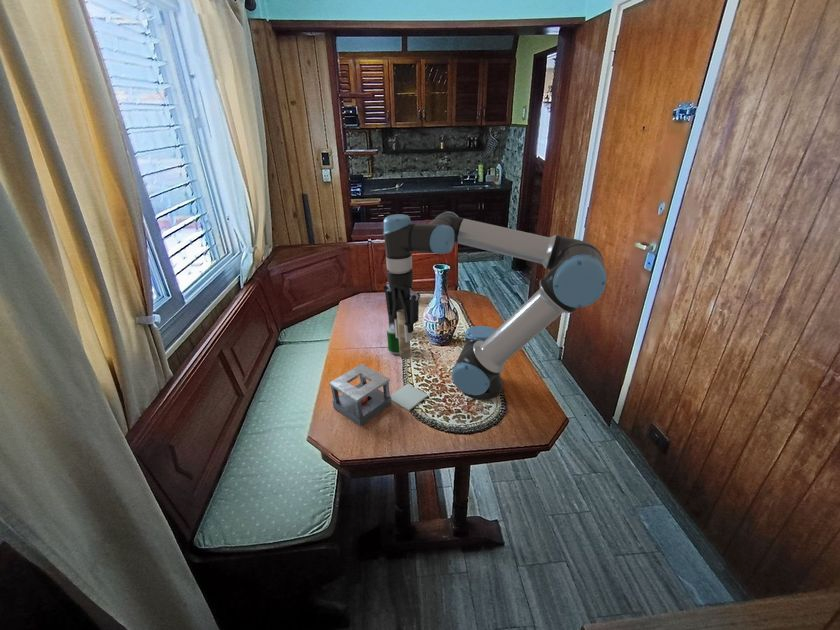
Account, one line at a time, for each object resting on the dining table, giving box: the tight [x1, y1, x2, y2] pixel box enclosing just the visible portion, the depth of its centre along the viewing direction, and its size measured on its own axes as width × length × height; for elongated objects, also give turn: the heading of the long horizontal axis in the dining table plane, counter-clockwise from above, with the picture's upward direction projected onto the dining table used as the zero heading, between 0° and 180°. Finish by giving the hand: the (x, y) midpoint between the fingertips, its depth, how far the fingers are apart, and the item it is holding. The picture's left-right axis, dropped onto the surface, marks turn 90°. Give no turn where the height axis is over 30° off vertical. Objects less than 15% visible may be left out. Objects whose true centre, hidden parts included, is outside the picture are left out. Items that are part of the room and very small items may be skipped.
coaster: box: [390, 383, 429, 412], centre depth 134 cm, size 10×10×1 cm
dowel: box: [397, 309, 412, 359], centre depth 123 cm, size 4×4×16 cm
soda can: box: [386, 323, 400, 356], centre depth 159 cm, size 8×8×12 cm
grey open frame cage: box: [328, 363, 393, 427], centre depth 129 cm, size 14×14×10 cm
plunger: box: [361, 396, 368, 405], centre depth 130 cm, size 4×4×5 cm
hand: (404, 338), depth 123 cm, fingers closed on dowel, 3 cm apart
